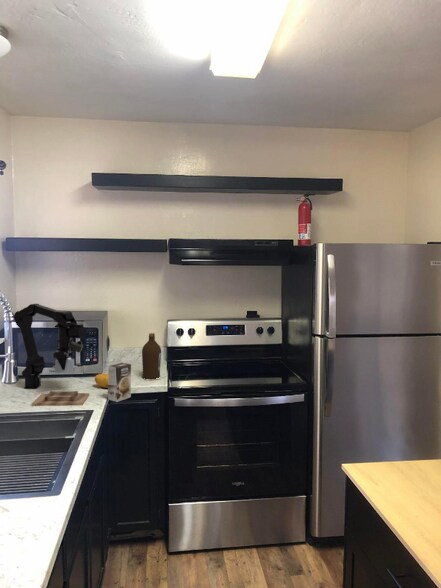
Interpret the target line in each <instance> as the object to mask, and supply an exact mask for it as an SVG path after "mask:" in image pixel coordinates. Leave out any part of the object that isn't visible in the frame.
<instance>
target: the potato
mask: <svg viewBox="0 0 441 588" xmlns="http://www.w3.org/2000/svg"><path fill="white" fill-rule="evenodd" d="M94 382H95V384H96V385H97V386H98V387H100V388H105V389H108V373H98V374H97V375H95V377H94Z"/></svg>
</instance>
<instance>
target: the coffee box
mask: <svg viewBox="0 0 441 588" xmlns="http://www.w3.org/2000/svg"><path fill="white" fill-rule="evenodd" d="M107 372H108V373H107V374H108V388H107V400H108V401H113V402H116V403H118V402H120V401H123V400H124V401H125V400H127V399H129V398H131V396H132V391H131V390H132V364H131V363H127V362H126V363H124V362H120V363H116V364H110V365H108V371H107Z"/></svg>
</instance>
